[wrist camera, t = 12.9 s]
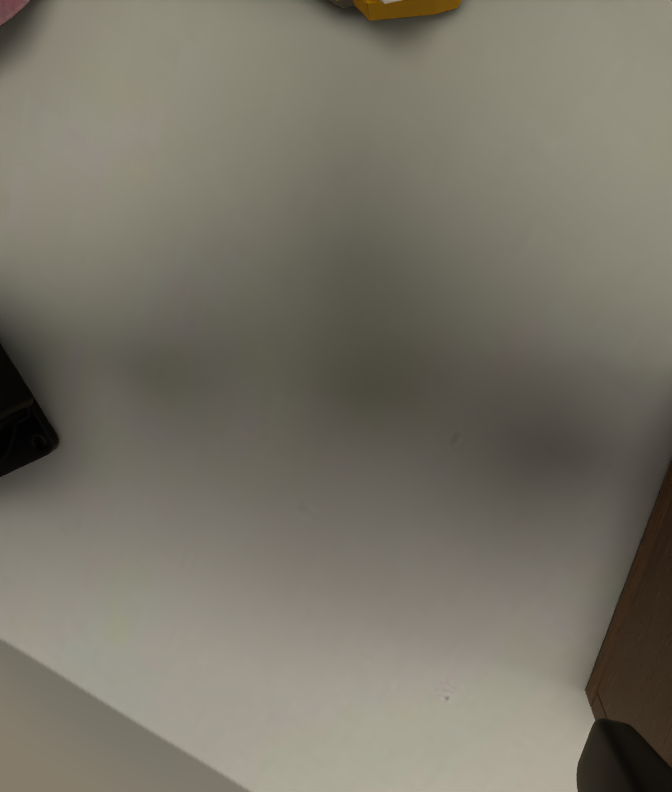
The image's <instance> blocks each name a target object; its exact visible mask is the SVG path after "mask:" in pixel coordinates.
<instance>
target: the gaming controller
mask: <svg viewBox="0 0 672 792" xmlns="http://www.w3.org/2000/svg"><path fill="white" fill-rule="evenodd" d="M328 1H330V2H332V3H334V4H335V5H337V6H339V7H340V8H345V7H350V6H354V7H356V8H358V9H359V10H360V11H361V12H362V13H363V14H364V15H365V16H366V17H367V18H368V19H369V20H370V21H371V20H382V19H392V18H402V17H413V16H423V15H434V14H438V13H442V12H445V11H449V10H452V9H455V8H458V7H459V5H460V3H461V1H462V0H328Z"/></svg>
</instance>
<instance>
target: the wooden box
mask: <svg viewBox="0 0 672 792" xmlns="http://www.w3.org/2000/svg"><path fill="white" fill-rule="evenodd" d="M586 695H587V698H588V701H589V704H590V707H592V708H591V709H592V712H593V715H594V718H595V721H596V720H597V719H599V718H606V719H611V720H615V721H619V722H624V723H627V724H629V725H631V726H632V727H633V728H634V729H635V730H636V731H637V732H638V733H639V734H640V735H641V736H642V737H643V738H644V739H645V740H646V741H647V742H648V743H649V744H650V745H651V746H652V748H653V749H654V750H655V751H656V752H657V753H658V754H659V755H660V756H661V757H662V758H663V759H664V760H665V761H666V762H667V763H668V765H669V766H670V767H671V768H672V461H671V464H670V467H669V469H668V472H667V475H666V477H665V480H664V483H663V485H662V488H661V491H660V493H659V496H658V499H657V501H656V504H655V507H654V509H653V512H652V515H651V518H650V520H649V523H648V526H647V528H646V531H645V534H644V536H643V539H642V542H641V544H640V547H639V550H638V552H637V555H636V558H635V560H634V563H633V566H632V568H631V571H630V574H629V576H628V579H627V582H626V584H625V587H624V590H623V592H622V595H621V598H620V601H619V603H618V606H617V609H616V611H615V614H614V617H613V619H612V622H611V625H610V627H609V630H608V633H607V635H606V638H605V641H604V643H603V646H602V649H601V651H600V654H599V657H598V659H597V662H596V665H595V667H594V670H593V673H592V676H591V678H590V681H589V684H588V686H587V689H586Z"/></svg>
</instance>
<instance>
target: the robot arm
mask: <svg viewBox="0 0 672 792" xmlns="http://www.w3.org/2000/svg"><path fill="white" fill-rule="evenodd" d="M40 437H42V438H43V439H44V440H45V441H46V445H44V444H43V443H42V442H41V441H40ZM58 444H59V439H58V436H57V434H56V432H55V431H54V429H53V427H52V426H51V424H50V423H49V421H48V419H47V418H46V416H45V415H44V413H43V411H42V410H41V408H40V407H39V405H38V403H37V402H36V400H35V399H34V397H33V395H32V393H31V392H30V390H29V389H28V387H27V385H26V384H25V382H24V380H23V379H22V377H21V376H20V374H19V372H18V371H17V369H16V368H15V366H14V364H13V363H12V361H11V360H10V358H9V356H8V355H7V353H6V352H5V350H4V348H3V347H2V345H1V344H0V477H2V476H4V475H6V474H8V473H10V472H12V471H14V470H16V469H18V468H20V467H22V466H25V465H27V464H29V463H31V462H33V461H35V460H37V459H39V458H41V457H43V456H46V455H48V454H49V453H51V452H52V451H54V450H55V449H56V448H57V446H58ZM577 789H578V792H672V768H671V767H670V766H669V765H668V763H667V762H666V761H665V760H664V759H663V758H662V757H661V756H660V755H659V754H658V753H657V752H656V751H655V750H654V749H653V748H652V746H651V745H650V744H649V743H648V742H647V741H646V740H645V739H644V738H643V737H642V736H641V735H640V734H639V733H638V732H637V731H636V730H635V729H634V728H633V727H632V726H631V725H629V724H627V723H624V722H619V721H615V720H611V719H606V718H599V719H597V720H596V721H595V722H594V724H593V726H592V728H591V731H590V733H589V736H588V739H587V741H586V744H585V746H584V749H583V752H582V754H581V757H580V759H579V762H578V767H577Z"/></svg>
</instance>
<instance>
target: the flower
mask: <svg viewBox="0 0 672 792" xmlns="http://www.w3.org/2000/svg"><path fill="white" fill-rule="evenodd" d="M29 1H30V0H0V25H2V24H3V23H5V22H6V21H8V20H9V19H11V18H12V17H14V16H15V15H16V14H17V13H18V12H19V11H20V10H21V9H22V8H23V7H24V6H25V5H26V4H27V3H28V2H29Z"/></svg>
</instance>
